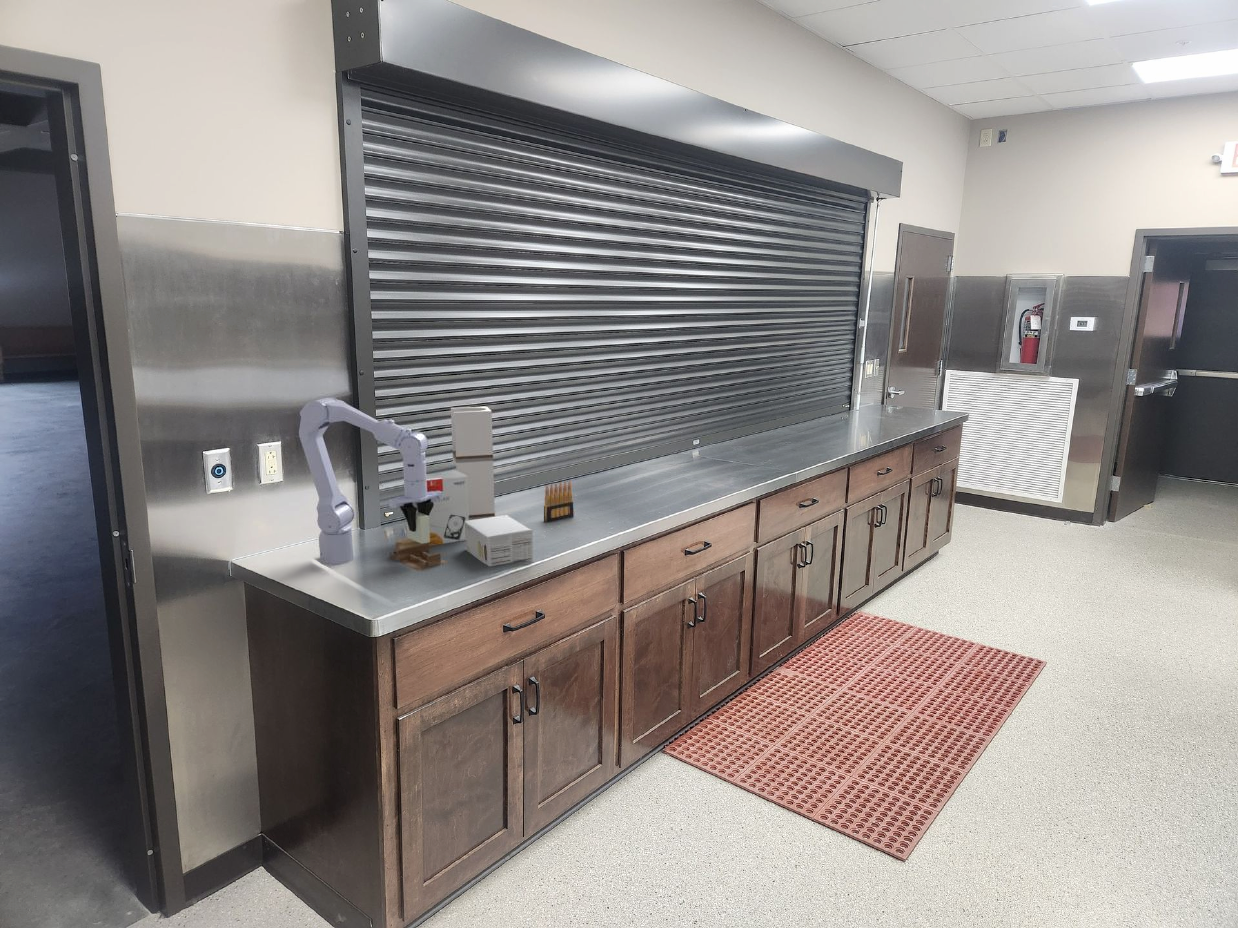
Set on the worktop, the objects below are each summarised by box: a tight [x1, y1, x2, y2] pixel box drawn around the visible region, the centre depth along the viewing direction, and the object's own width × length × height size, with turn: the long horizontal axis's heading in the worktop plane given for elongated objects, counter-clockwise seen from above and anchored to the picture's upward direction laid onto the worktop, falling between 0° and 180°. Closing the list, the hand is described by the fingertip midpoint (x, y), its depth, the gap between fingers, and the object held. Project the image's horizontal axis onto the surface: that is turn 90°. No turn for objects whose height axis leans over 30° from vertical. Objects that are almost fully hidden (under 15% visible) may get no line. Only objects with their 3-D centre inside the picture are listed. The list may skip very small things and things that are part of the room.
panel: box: [405, 511, 430, 544], centre depth 209 cm, size 8×2×7 cm, turn 44°
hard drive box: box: [413, 471, 469, 547], centre depth 229 cm, size 16×8×20 cm, turn 122°
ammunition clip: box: [543, 480, 575, 523], centre depth 255 cm, size 11×2×12 cm, turn 131°
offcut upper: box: [395, 538, 421, 550], centre depth 216 cm, size 3×6×2 cm, turn 137°
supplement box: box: [464, 514, 534, 567], centre depth 218 cm, size 17×13×9 cm
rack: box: [389, 543, 449, 571], centre depth 213 cm, size 15×9×4 cm, turn 43°
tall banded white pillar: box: [450, 406, 496, 520], centre depth 255 cm, size 11×11×35 cm
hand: (417, 529), depth 210 cm, fingers closed on panel, 2 cm apart
